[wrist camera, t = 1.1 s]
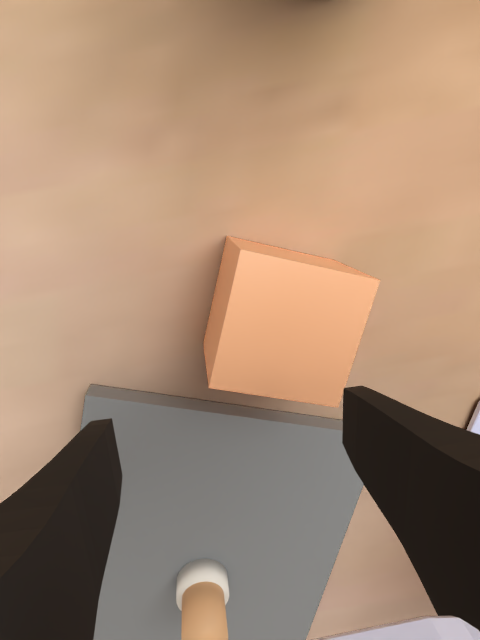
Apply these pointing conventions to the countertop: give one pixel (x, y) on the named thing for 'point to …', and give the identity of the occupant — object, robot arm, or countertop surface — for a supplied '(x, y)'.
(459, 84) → the countertop surface
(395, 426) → the robot arm
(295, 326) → the peach orange cube
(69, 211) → the countertop surface
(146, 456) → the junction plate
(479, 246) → the countertop surface
